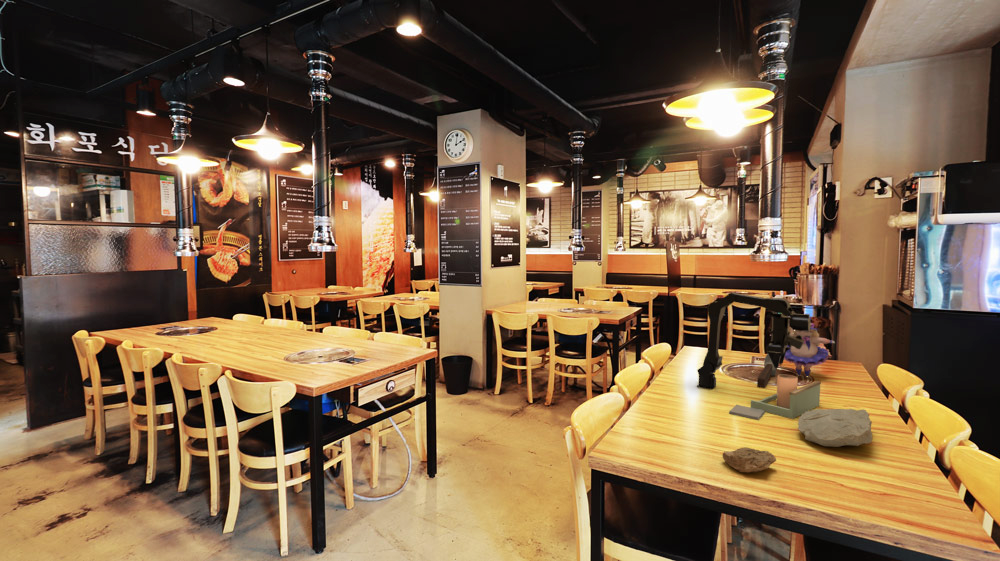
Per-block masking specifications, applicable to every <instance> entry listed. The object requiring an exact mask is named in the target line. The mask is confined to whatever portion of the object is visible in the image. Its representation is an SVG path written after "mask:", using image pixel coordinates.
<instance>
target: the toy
mask: <svg viewBox="0 0 1000 561" xmlns="http://www.w3.org/2000/svg"><path fill="white" fill-rule="evenodd" d="M811 320H812V317H810V321H811ZM818 330H819V328H815V324H814V323H812V322H811V326H810V331H800V330H793V333H790V335H791V336H795V337H796V336H798V335H800V336H802V339H803V340H804V341H805V342H804V344H803V346H802V348H800V349H797V348H796V347H794V346H792V347H791V348H790V349H789V350H788V351H786V354H785V357H784V361H786V362H789V363H790V364H791V363H793V364H794V366H795V372H796V377H799V376H802V371H804V374H805V376H808V377H810V374H811V373H812V372H811V371H812V370H811V368H812V367H814V366H819V365H823V364H824V363H826V362H827V359H829V357H830V356H829V350H827V349H825V348H821V347H822V346H821V347H820V345H821V344H824V345H827V344H836V342H835V340H833V339H831V340H830V339H829V338H828V339H827V338H825V337H820V333H818ZM787 347H789V346H787ZM802 367H803V368H802ZM798 375H799V376H798Z"/></svg>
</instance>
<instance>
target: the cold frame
mask: <svg viewBox="0 0 1000 561" xmlns="http://www.w3.org/2000/svg"><path fill="white" fill-rule="evenodd" d="M821 385H822V382H821V381H818V380H815V381H812V382H810V383H808V384H806V385H803V386H801V387H799V388H798V387H797V389H796V390H794V391H791V392H790V409H786V408H782V407H778V406H776V405H773V404H770V403H769V402H772V401H774V400H777V393H774V394H771V395H769V396H768V397H767V396H766V397H764V398H762V399H760V400H755V399H750V408H755V409H760V410H765V413H770V414H773V415H776V416H780V417H785V418H788V419H790V420H791V419H792V420H794V419H795V418H797V417H798V418H799V417H800V416H801V415H802V414H804V413H805V411H812V410H815V408H817V407H819V406H820V401H821V399H820V397H821V395H820V394H821Z"/></svg>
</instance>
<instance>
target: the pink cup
mask: <svg viewBox="0 0 1000 561" xmlns="http://www.w3.org/2000/svg"><path fill="white" fill-rule="evenodd" d="M798 379H799V378H798V376H797V375H796V376H795V375H792V374H783V373H782V374H777V379H776V380H777V383H776V394H777V399H776V405H775V406H778V407H782V408H786V409H790V392H791V391H794V390H796V389H798V381H799V380H798Z"/></svg>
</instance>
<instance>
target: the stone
mask: <svg viewBox="0 0 1000 561" xmlns="http://www.w3.org/2000/svg"><path fill="white" fill-rule="evenodd" d="M872 424H873V422H872V421H871V419H870V413H868V411H867V410H866V409H863V408H862V409H858V410H857V409H852V408H827V409H826V408H825V409H823V408H821V409H820V408H817V409H812V410H810V411H805V413H804V414H802V415H800V416H799V417H798V420H797V425H798V426H797V429H798V430H799V432H800V433H802V434H803V435H804V436H805V438H804V440H807V441H808V442H811V443H814V444H817V445H820V446H823V447H835V448H840V447H842V446H854V447H859V446H861V445H863V444H870V443H871V442H872V441H873V432H872Z"/></svg>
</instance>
